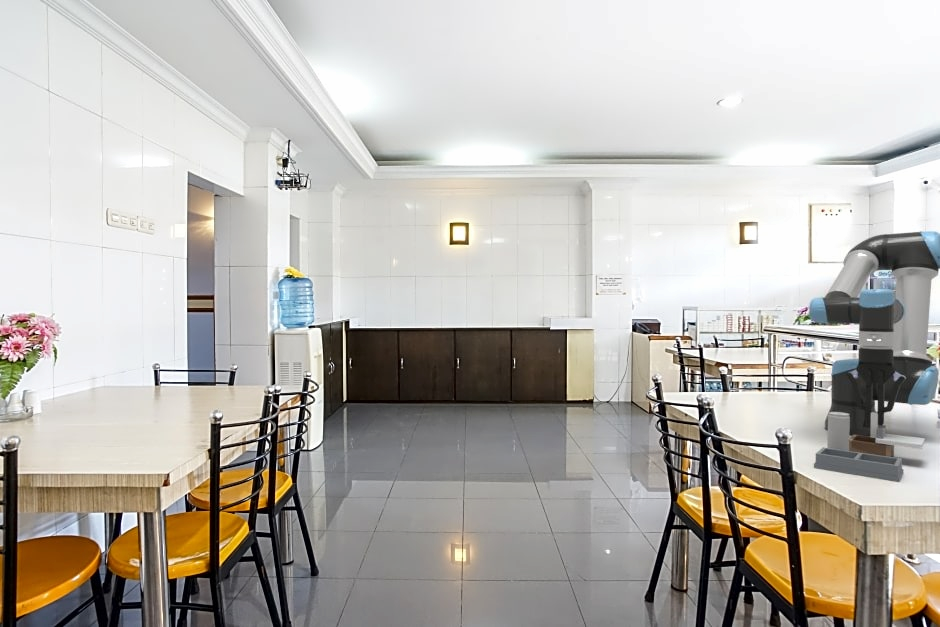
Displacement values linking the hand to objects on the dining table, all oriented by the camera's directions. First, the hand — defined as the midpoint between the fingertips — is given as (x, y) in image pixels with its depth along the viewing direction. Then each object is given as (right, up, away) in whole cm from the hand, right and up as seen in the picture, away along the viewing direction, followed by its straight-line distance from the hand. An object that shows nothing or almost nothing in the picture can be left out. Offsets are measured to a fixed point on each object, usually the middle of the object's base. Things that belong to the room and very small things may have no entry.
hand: (874, 436), depth 152 cm
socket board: (-13, -6, -12) cm, 18 cm away
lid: (+4, -1, -4) cm, 5 cm away
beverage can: (-11, -6, -2) cm, 12 cm away
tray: (-1, -5, +1) cm, 5 cm away
